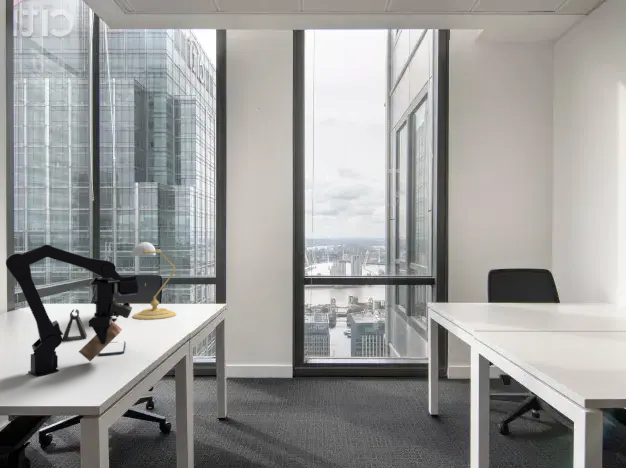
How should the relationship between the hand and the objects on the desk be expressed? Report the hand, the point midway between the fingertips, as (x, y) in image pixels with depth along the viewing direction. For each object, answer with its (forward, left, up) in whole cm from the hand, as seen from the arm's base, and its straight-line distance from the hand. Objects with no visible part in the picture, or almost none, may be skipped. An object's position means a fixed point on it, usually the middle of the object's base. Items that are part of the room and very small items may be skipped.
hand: (104, 342), depth 149 cm
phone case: (+11, +14, -8) cm, 19 cm away
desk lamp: (+63, +61, -7) cm, 88 cm away
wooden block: (-4, +4, -4) cm, 7 cm away
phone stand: (+12, +44, -7) cm, 46 cm away
